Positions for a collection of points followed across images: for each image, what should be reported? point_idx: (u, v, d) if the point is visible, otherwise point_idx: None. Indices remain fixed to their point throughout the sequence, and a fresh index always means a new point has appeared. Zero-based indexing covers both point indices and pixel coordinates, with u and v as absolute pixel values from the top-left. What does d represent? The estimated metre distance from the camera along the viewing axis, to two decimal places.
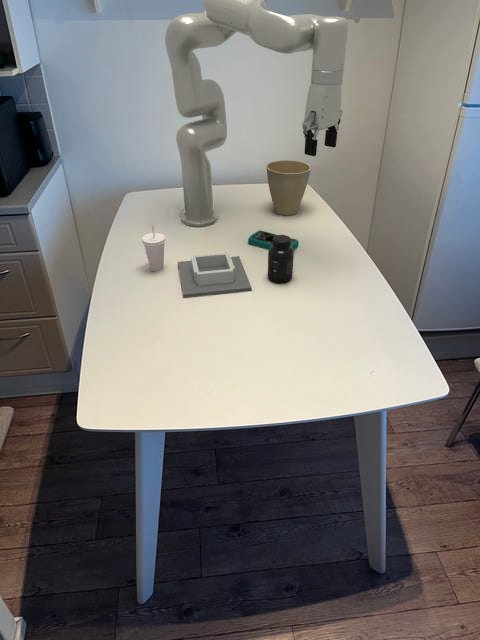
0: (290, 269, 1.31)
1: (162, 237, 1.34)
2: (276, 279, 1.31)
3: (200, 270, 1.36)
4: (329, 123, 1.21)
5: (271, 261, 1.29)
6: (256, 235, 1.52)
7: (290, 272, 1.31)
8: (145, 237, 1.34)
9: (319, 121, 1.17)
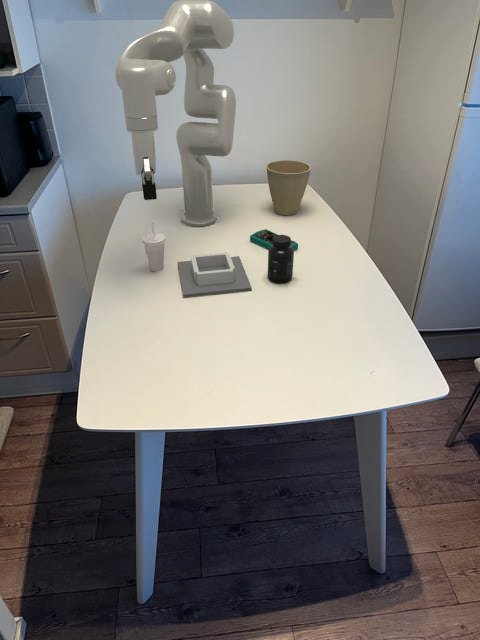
0: (290, 269, 1.31)
1: (162, 237, 1.34)
2: (276, 279, 1.31)
3: (200, 270, 1.36)
4: None
5: (271, 261, 1.29)
6: (259, 233, 1.53)
7: (290, 272, 1.31)
8: (145, 237, 1.34)
9: (154, 165, 1.18)
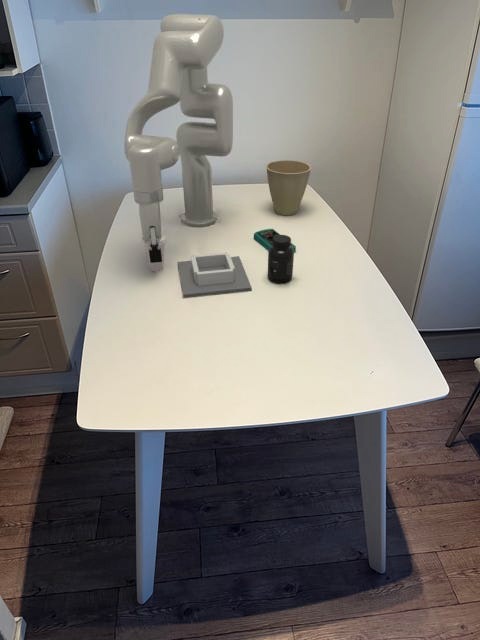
0: (290, 269, 1.31)
1: (162, 237, 1.34)
2: (276, 279, 1.31)
3: (200, 270, 1.36)
4: None
5: (271, 261, 1.29)
6: (264, 232, 1.54)
7: (290, 272, 1.31)
8: None
9: (160, 233, 1.28)
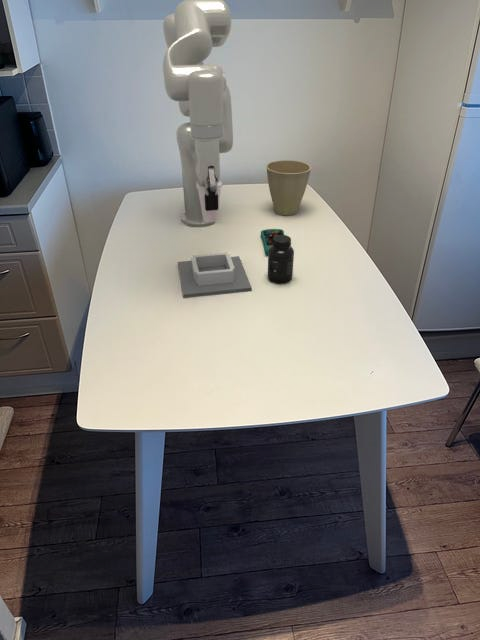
0: (290, 269, 1.31)
1: (218, 182, 1.20)
2: (276, 279, 1.31)
3: (200, 270, 1.36)
4: None
5: (271, 261, 1.29)
6: (271, 231, 1.55)
7: (290, 272, 1.31)
8: None
9: (219, 174, 1.14)
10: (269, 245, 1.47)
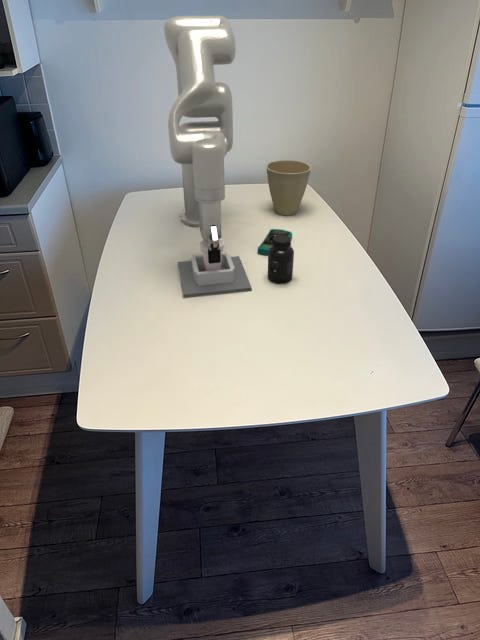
0: (290, 269, 1.31)
1: (221, 243, 1.29)
2: (276, 279, 1.31)
3: (200, 270, 1.36)
4: None
5: (271, 261, 1.29)
6: (279, 231, 1.54)
7: (290, 272, 1.31)
8: (203, 243, 1.29)
9: (220, 232, 1.23)
10: (265, 244, 1.48)
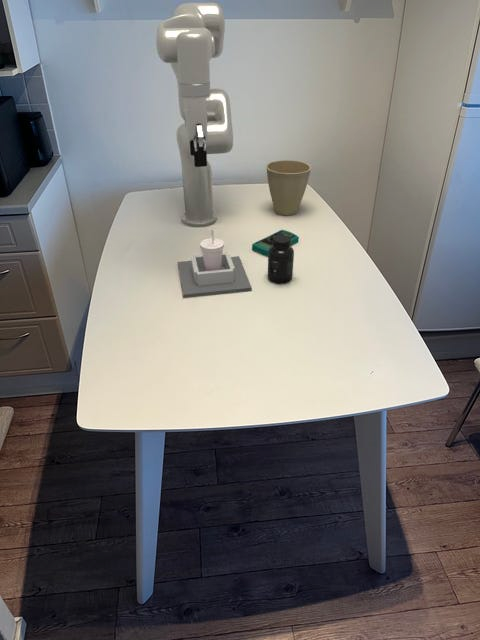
0: (290, 269, 1.31)
1: (221, 243, 1.29)
2: (276, 279, 1.31)
3: (200, 270, 1.36)
4: None
5: (271, 261, 1.29)
6: (286, 233, 1.53)
7: (290, 272, 1.31)
8: (203, 243, 1.29)
9: (206, 132, 1.21)
10: (262, 242, 1.49)
